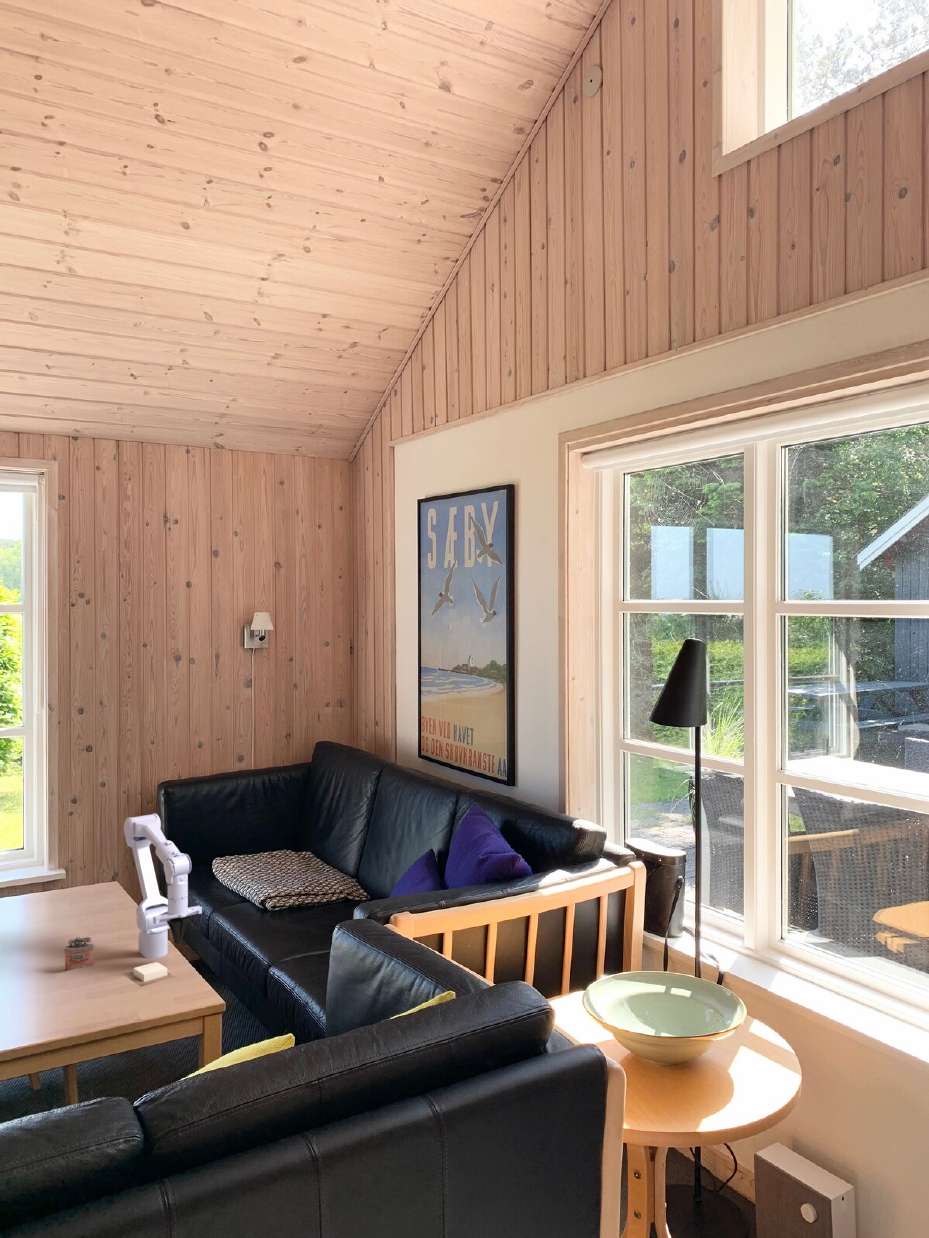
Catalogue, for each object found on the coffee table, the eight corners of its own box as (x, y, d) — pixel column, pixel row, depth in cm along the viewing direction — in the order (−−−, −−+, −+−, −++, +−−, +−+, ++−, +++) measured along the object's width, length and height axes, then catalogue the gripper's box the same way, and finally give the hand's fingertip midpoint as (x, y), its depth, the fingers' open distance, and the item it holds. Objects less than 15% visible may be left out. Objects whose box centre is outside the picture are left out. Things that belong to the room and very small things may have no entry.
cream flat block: (133, 974, 269) (133, 967, 269) (156, 968, 274) (156, 961, 274) (144, 981, 264) (144, 974, 264) (167, 975, 269) (167, 968, 269)
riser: (123, 979, 270) (123, 974, 270) (156, 970, 277) (156, 965, 277) (141, 991, 261) (141, 986, 261) (174, 981, 268) (174, 976, 268)
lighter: (63, 974, 273) (63, 940, 273) (65, 970, 276) (65, 937, 276) (92, 971, 275) (92, 938, 275) (94, 967, 278) (94, 934, 278)
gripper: (160, 905, 267) (160, 952, 267) (206, 894, 277) (206, 939, 277) (149, 899, 272) (150, 945, 272) (195, 889, 282) (195, 933, 282)
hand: (177, 942), depth 275 cm, fingers closed
